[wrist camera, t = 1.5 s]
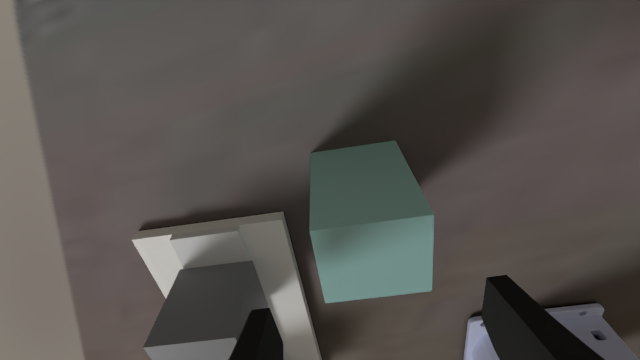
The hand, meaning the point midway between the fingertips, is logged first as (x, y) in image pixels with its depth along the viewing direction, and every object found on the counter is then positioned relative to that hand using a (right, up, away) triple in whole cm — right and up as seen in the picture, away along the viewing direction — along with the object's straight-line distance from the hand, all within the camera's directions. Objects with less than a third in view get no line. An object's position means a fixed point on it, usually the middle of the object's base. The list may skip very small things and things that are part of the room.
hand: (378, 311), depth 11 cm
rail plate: (-7, -6, +13) cm, 16 cm away
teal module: (0, +5, +7) cm, 9 cm away
